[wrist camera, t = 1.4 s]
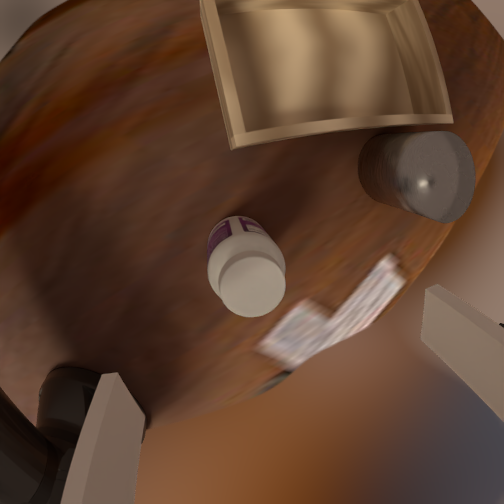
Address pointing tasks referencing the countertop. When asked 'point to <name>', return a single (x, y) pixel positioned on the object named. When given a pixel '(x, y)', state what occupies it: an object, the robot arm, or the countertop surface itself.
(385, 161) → the tin can
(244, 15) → the caddy
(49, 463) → the robot arm
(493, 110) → the countertop surface
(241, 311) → the pill bottle
